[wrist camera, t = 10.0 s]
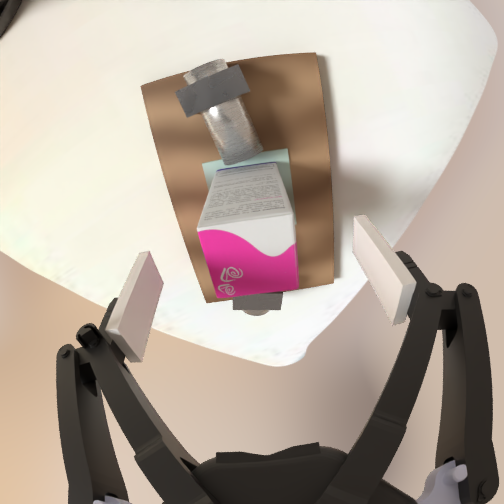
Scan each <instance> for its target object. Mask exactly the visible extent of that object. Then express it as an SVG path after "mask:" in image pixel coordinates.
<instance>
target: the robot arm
mask: <svg viewBox="0 0 504 504" xmlns="http://www.w3.org/2000/svg"><path fill="white" fill-rule="evenodd" d="M21 1H22V0H0V36H1V35H2V34H3V32H4V31H5V29H6V28H7V26H8V25H9V23H10V22H11V20H12V18H13V17H14V15H15V13H16V11H17V9H18V7H19V5H20V3H21ZM353 254H354V255H355V257H356V259H357V261H358V262H359V264H360V266H361V268H362V269H363V271H364V273H365V275H366V276H367V278H368V280H369V282H370V284H371V286H372V287H373V289H374V291H375V293H376V295H377V297H378V299H379V301H380V303H381V304H382V306H383V308H384V310H385V312H386V314H387V316H388V318H389V320H390V322H391V324H392V326H393V325H396V324H400V323H403V322H405V320H406V317H407V315H408V316H409V318H410V323H409V326H408V329H407V332H406V335H405V338H404V340H403V343H402V346H401V348H400V351H399V354H398V356H397V359H396V361H395V364H394V366H393V368H392V371H391V373H390V375H389V378H388V380H387V382H386V385H385V387H384V389H383V391H382V393H381V395H380V397H379V399H378V402H377V404H376V406H375V408H374V410H373V412H372V414H371V415H370V417H369V419H368V421H367V423H366V425H365V427H364V428H363V430H362V432H361V434H360V435H359V437H358V439H357V441H356V442H355V444H354V445H353V447H352V449H351V450H350V452H349V454H346V453H345V452H343V451H340V450H338V449H335V448H331V447H325V446H319V442H316V443H311V444H305V445H299V446H293V447H290V448H288V449H285V450H282V451H280V452H277V453H274V454H271V455H258V454H252V453H246V452H217V453H216V457H215V458H212V459H209V460H207V461H205V462H203V463H202V464H199V463H198V462H197V461H196V460H195V459H194V458H193V457H192V456H191V455H190V454H189V453H188V452H187V451H186V450H185V449H184V447H183V446H182V445H181V444H180V442H179V441H178V440H177V439H176V437H175V436H174V435H173V434H172V432H171V431H170V430H169V428H168V427H167V426H166V424H165V423H164V422H163V420H162V419H161V418H160V416H159V415H158V413H157V412H156V410H155V409H154V408H153V406H152V405H151V403H150V402H149V400H148V399H147V397H146V396H145V394H144V393H143V391H142V390H141V388H140V387H139V385H138V383H137V382H136V380H135V379H134V377H133V375H132V374H131V372H130V370H129V369H128V367H127V365H126V364H125V363H124V359H125V356H126V358H127V359H128V360H129V361H130V362H142V360H143V356H144V352H145V348H146V344H147V341H148V337H149V333H150V329H151V326H152V322H153V318H154V315H155V311H156V308H157V304H158V301H159V297H160V294H161V291H162V287H163V284H164V283H163V281H162V278H161V276H160V274H159V272H158V270H157V267H156V265H155V263H154V261H153V258H152V256H151V254H150V251H147V252H142V253H139V255H138V257H137V259H136V261H135V263H134V265H133V267H132V269H131V271H130V273H129V275H128V278H127V280H126V282H125V284H124V286H123V289H122V291H121V293H120V295H119V297H118V298H114V299H113V300H112V302H111V303H110V304H109V306H108V308H107V312H106V313H105V315H104V318H103V320H102V322H101V325H100V327H99V330H98V329H97V327H96V326H95V325H94V324H92V323H89V324H86V325H84V326H82V327H81V328H80V329H79V331H78V332H77V335H76V339H77V340H78V342H79V343H80V344H81V345H82V347H80V348H77V349H75V348H74V347H73V346H72V345H71V344H66V345H64V346H62V347H61V348H60V349H59V351H58V353H57V361H56V362H57V364H56V386H57V408H58V420H59V431H60V438H61V446H62V453H63V459H64V464H65V469H66V474H67V479H68V483H69V490H68V504H131V503H130V502H129V499H128V494H127V490H126V487H125V483H124V480H123V477H122V474H121V471H120V468H119V465H118V462H117V458H116V455H115V451H114V448H113V444H112V440H111V437H110V432H109V428H108V424H107V419H106V415H105V410H104V405H103V399H102V394H101V390H102V392H103V394H104V396H105V398H106V400H107V402H108V404H109V406H110V408H111V410H112V412H113V414H114V416H115V418H116V420H117V422H118V423H119V426H120V427H121V429H122V431H123V433H124V434H125V436H126V438H127V440H128V441H129V443H130V445H131V446H132V448H133V450H134V451H135V453H136V455H135V456H134V458H135V460H136V462H137V464H138V466H139V467H140V469H141V470H142V471H143V473H144V474H145V476H146V477H147V479H148V480H149V482H150V483H151V485H152V486H153V487H154V489H155V490H156V491H157V493H158V494H159V495H160V497H161V498H162V499H163V501H164V502H163V503H162V504H486V503H487V502H488V501H490V500H491V499H492V498H493V496H494V495H495V494H496V492H497V490H498V487H499V476H498V470H497V463H496V457H495V452H494V447H493V442H492V421H493V405H492V404H493V398H492V378H491V367H490V357H489V349H488V342H487V335H486V329H485V324H484V319H483V314H482V310H481V305H480V300H479V296H478V292H477V290H476V289H475V288H474V287H473V286H472V285H470V284H467V283H461V284H459V285H458V287H457V289H456V291H443V290H442V288H441V287H440V286H439V285H437V284H434V283H430V282H429V281H428V280H427V278H426V277H425V276H424V274H423V273H422V271H421V270H420V269H419V268H418V267H417V265H416V264H415V262H413V260H412V258H411V257H410V256H409V255H408V254H406V253H405V252H403V251H399V252H394V251H393V249H392V248H391V246H390V245H389V244H388V242H387V241H386V240H385V239H384V237H383V236H382V235H381V234H380V232H379V231H378V230H377V229H376V227H375V226H374V225H373V224H372V222H371V221H370V220H369V219H368V218H367V216H366V215H365V214H364V215H358V216H354V233H353ZM437 330H442V334H443V395H442V409H441V420H440V430H439V436H438V443H437V451H436V462H435V469H434V470H433V471H432V472H431V473H430V474H429V475H428V477H427V479H426V482H425V487H424V491H423V493H422V495H421V496H420V497H419V498H418V499H417V500H414V499H413V498H411V497H410V496H408V495H407V494H405V493H403V492H402V491H400V490H399V489H397V488H396V487H394V486H393V485H391V484H389V483H388V482H386V481H385V480H383V479H382V477H383V475H384V474H385V472H386V470H387V468H388V466H389V465H390V463H391V461H392V459H393V457H394V455H395V453H396V451H397V449H398V447H399V445H400V443H401V441H402V439H403V436H404V434H405V432H406V428H407V427H406V424H407V422H408V419H409V417H410V414H411V412H412V409H413V407H414V404H415V402H416V399H417V396H418V393H419V390H420V388H421V385H422V382H423V379H424V376H425V373H426V370H427V366H428V363H429V360H430V356H431V353H432V349H433V345H434V341H435V337H436V333H437Z"/></svg>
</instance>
